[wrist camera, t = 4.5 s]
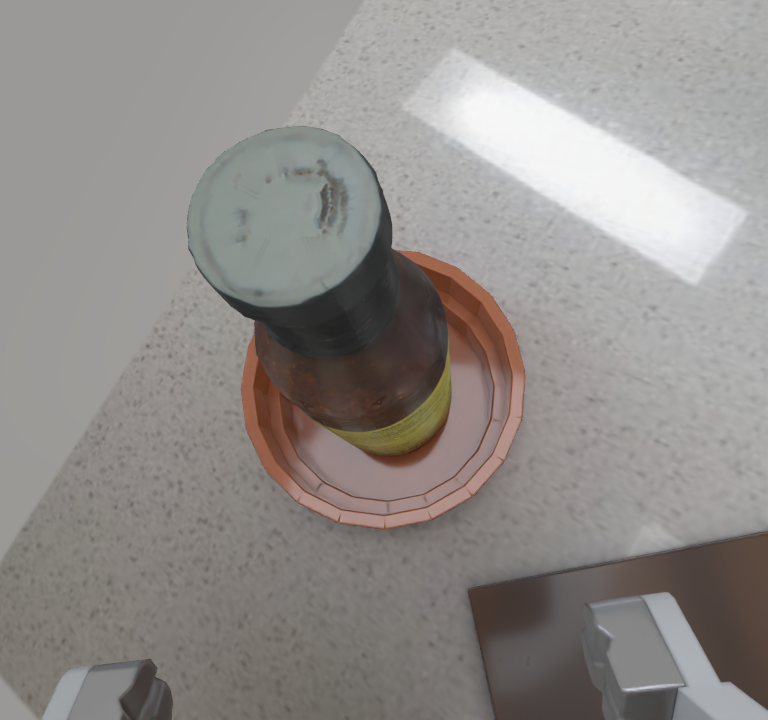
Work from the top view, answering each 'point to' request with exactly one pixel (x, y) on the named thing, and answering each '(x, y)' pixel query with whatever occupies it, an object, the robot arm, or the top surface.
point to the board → (614, 580)
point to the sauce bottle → (325, 286)
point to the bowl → (423, 466)
